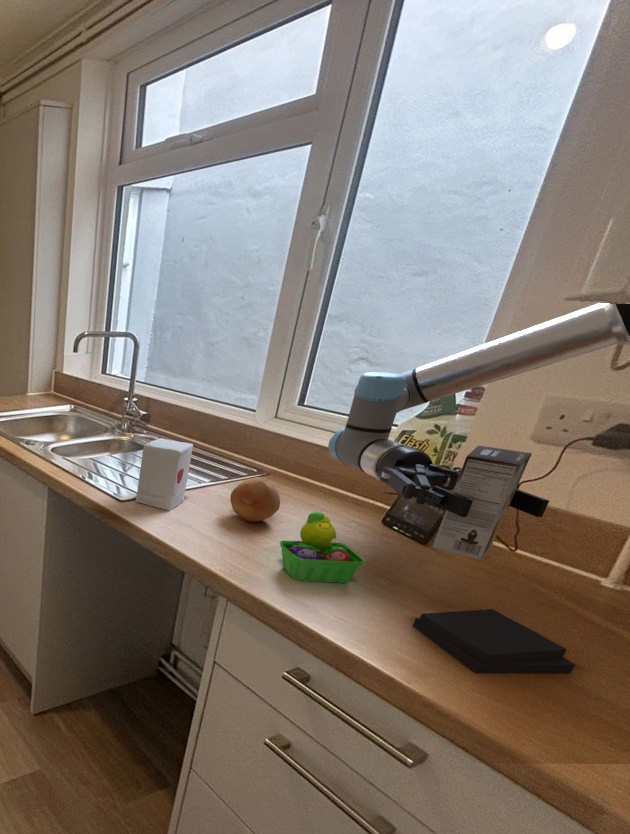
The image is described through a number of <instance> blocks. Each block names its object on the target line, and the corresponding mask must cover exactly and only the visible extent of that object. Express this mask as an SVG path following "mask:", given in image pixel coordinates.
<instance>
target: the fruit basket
mask: <svg viewBox="0 0 630 834" xmlns="http://www.w3.org/2000/svg"><path fill="white" fill-rule="evenodd" d="M299 532H300V533H299V536H300V539H301V540H280V542H279V544H280V548H281V560H282V567H283V569H284V570H285V571H286V573H287V574H288V575H289V576H291V578H292V579H293V580H294V581H300V582H301V581H302V582H303V581H307V582H323V583H341V584H347V583H349V581H350V580H351V579H352V578H353V576H354V575H355V573H356V572H357V571H358V570H359V568H361V567H362V566H363V564H364V563H365V562H366V561H365V559H363V558H362V557H361V556H360V555H358V554H357V553H356V552H355V551H354V550H352V549H351V548H350V547H349V546H348V545H346V544H345V543H341V542H332V541H333V540H335V539H336V538H337V531H336V529H335V527H334V526H333V524H332V523H331V520H330V518H329V517H328V515H325V514H324V513H323V512H321V511H313V512H310V514H308V516H307V519H306V522H305V523H304V524H303V525H302V527H301V529H300V531H299Z"/></svg>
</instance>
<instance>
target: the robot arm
mask: <svg viewBox="0 0 630 834" xmlns="http://www.w3.org/2000/svg"><path fill="white" fill-rule="evenodd" d="M616 306H617V307H616ZM629 336H630V304H610V303H600V302H597V303H594V304H591V305H588V306H586V307H583V308H580V309H578V310H574V311H572V312H569V313H567V314H564V315H561V316H558V317H555V318H552V319H550V320H547V321H544V322H542V323H538V324H535V325H533V326H530V327H528V328H524V329H522V330H519V331H516V332H512V333H511V334H508V335H505V336H502V337H499V338H497V339H493V340H491V341H487V342H486V343H482V344H480V345H477V346H473V347H472V348H469V349H466V350H464V351H460V352H458V353H455V354H452V355H449V356H446V357H443V358H440V359H438V360H435V361H433V362H430V363H429V362H428V363H427V364H424V365H421V366H418V367H415V368H413V369H409V370H407V371H404V372H402V373H393V372H383V371H382V372H381V371H375V372H374V371H372V372H371V371H370V372H368V371H367V372H364V373H363V374H361V375H360V377H359V380H358V382H357V385H356V387H355V389H354V394H353V398H352V402H351V406H350V409H349V413H348V416H347V417H348V418H347V421H346V424H345V426H344V427H343V428H340V429H338V430H337V431H335V433H334V434H333V435H332V437H330V438H329V441H328V445H327V447H328V448H327V449H328V451H329V454H330V456H331V457H332V458H334V459H335V460H337V461H339V462H340V463H341V464H343V465H345V466H347V467H351V468H353V469H355V470H358V471H360V472H362V473H364V474H367V475H369V476H371V477H373V478H375V479H376V481H377V482H382V483H384V484H387V485H388V486H389V487H390V488H392V489H393V490H394V491H395V492H396V493H398V494H399V495H400V496H401V497H402V498H404V499H407V500H411V499H413V497H415V498H416V499H415V501H414V503H415V504H417V505H425V503H426V501H427V503H430V504H432V505H434V506H437V507H438V508H441V509H443V510H445V511H446V510H448V511H450V512H452V513H454V514H456V515H458V516H461V517H467V515H468V512H469V510H470V507H471V505H472V502H473V501H472V500H470V499H468V498H465V497H463V496H460V495H458V494H456V493H453V491H454V488H455V485H456V483H457V480H458V478H459V475H460V472H461V470H462V467H459V466H457V467H456V466H454V467H453V468H446V467H444V466H442V465H440V464H438V465H437V464H435V463H433V460H432V458H431V457H430V455H429V454H428V453H426V452H424V451H422V450H419V449H417V448H414V447H411V446H408V445H406V444H403V443H400V442H397V441H394V440H391V439H389V438H390V435H391V431H392V429H393V424H394V422H395V419H396V415H397V413H400V412H402V411H404V410H407V409H410V408H414V407H417V406H420V405H421V406H422V405H423V404H424V405H425V404H427V403H429V402H432V401H433V402H434V401H436V400H439V399H443V398H445V397H449V396H452V395H456V394H458V393H461V392H464V391H468V390H472V389H476V388H478V387H482V386H485V385H487V384H492V383H494V382H497V381H501V380H504V379H508V378H510V377H514V376H517V375H520V374H524V373H527V372H530V371H533V370H536V369H540V368H543V367H547V366H550V365H553V364H556V363H560V362H563V361H565V360H569V359H572V358H576V357H579V356H582V355H585V354H588V353H592V352H595V351H599V350H601V349H605V348H608V347H611V346H615V345H617V344H618V345H619V344H620V345H621V344H622V345H626V346H630V337H629ZM447 482H448V484H447ZM520 487H521V484H520V483H519V484H518V487H517V489H516V491H515V493H514V496H513V498H512V500H511V503H510V505H509V507H511V508H514V509H515V510H518V511H521V512H523V513H526V514H529V515H531V516H534V517H535V518H543V516H544V514H545V511H546V510H547V507H548V505H549V503H550V499H546V498H543V497H540V496H539V495H535V494H532V493H529V492H526V491H525V490H521V489H520Z"/></svg>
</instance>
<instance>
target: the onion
mask: <svg viewBox="0 0 630 834" xmlns="http://www.w3.org/2000/svg"><path fill="white" fill-rule="evenodd" d="M229 497H230V504H231V508H232V511H233V512H234V513H235V515H236V516H238V517H239V518H241V519H243V520H245V521H246V522H250V523H257V522H258V523H259V522H261V521H265V520H267V519H269V518H271V517H272V516H273V515H275V514H276V512H278V511H279V509H280V506H281V498H280V494H279V491H278V489H277V488H276V486H275V485H274V483H272V482H271V481H269V480H268V479H266V478H265V477H262V476H261V477H259V476H258V477H252V478H248V479H246V480H244V481H242V482H241V483H239V484H238V485H237V486H236V487H235V488H233V489H232V491H231V493H230V496H229Z"/></svg>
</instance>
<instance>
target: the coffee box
mask: <svg viewBox="0 0 630 834" xmlns="http://www.w3.org/2000/svg"><path fill="white" fill-rule="evenodd" d="M532 454H533V453H532V452H527V451H526V452H525V451H519V450H512V449H507V448H506V449H505V448H500V447H494V446H493V447H491V446H485V445H477V446H476V447H475V448H474V449H473V450H471V451H470V453H468V454H467V455H466V457H465V459H464V462H463V465H462V467H461V468H462V470H461V472H460V475H459V478H458V480H457V483H456V485H455V488H454V489H453V490H452V492H453V493H456V494H458V495H460V496H463V497H465V498H468V499H470V500H472V501H473V502H472V505H471V507H470V510H469V512H468V515H467V517H461V516H458V515H456V514H454V513H452V512H450V511H448V510H445V512H444V514H443V517H442V520H441V522H440V525H439V527H438V530H437V533H436V536H435V539H434V540H433V543H432V548H433V549H437V550H440V551H444V552H448V553H452V554H455V555H459V556H463V557H467V558H470V559H475V560H478V561H482V560H483V559H484V558H485V557H486V555H487V553H488V552H489V551H490V549H491V547H492V546H493V544H494V542H495V540H496V538H497V535H498V532H499V530H500V528H501V526H502V524H503V522H504V519H505V516H506V514H507V512H508V509H509V507H510V506H509V505H510V503H511V500H512V498H513V496H514V493H515V491H516V489H517V487H518V484H520V481H521V479H522V477H523V475H524V473H525V470H526V468H527V465H528V463H529V461H530V459H531V457H532Z"/></svg>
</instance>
